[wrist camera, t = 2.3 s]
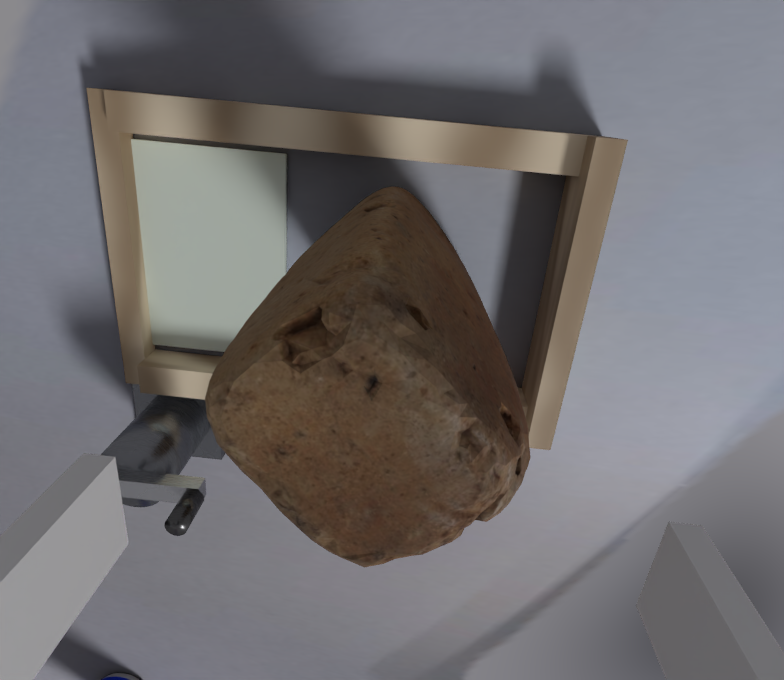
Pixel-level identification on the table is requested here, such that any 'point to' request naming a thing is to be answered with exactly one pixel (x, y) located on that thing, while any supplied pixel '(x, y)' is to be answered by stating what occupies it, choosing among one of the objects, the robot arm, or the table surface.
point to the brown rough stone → (374, 390)
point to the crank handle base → (164, 455)
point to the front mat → (208, 237)
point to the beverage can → (120, 677)
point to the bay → (366, 138)
